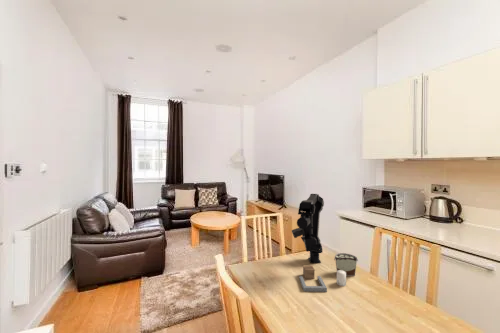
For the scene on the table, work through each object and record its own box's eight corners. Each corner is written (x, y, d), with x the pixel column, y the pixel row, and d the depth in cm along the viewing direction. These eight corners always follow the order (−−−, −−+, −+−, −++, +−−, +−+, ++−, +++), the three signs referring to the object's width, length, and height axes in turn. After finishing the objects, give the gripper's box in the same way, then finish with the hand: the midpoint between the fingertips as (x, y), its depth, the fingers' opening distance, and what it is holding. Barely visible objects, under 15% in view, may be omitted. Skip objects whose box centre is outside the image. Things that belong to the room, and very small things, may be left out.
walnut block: (303, 274, 126) (303, 265, 126) (312, 274, 126) (312, 265, 126) (304, 278, 121) (304, 269, 121) (314, 279, 121) (314, 269, 121)
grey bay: (299, 279, 120) (299, 275, 120) (320, 279, 120) (320, 276, 120) (303, 291, 109) (303, 287, 109) (326, 291, 109) (326, 288, 109)
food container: (353, 270, 130) (353, 253, 130) (357, 275, 124) (357, 257, 124) (331, 269, 131) (331, 252, 131) (334, 274, 125) (334, 256, 125)
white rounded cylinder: (335, 281, 118) (335, 270, 118) (344, 281, 118) (344, 270, 118) (338, 286, 114) (338, 274, 113) (347, 286, 113) (347, 274, 113)
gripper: (290, 219, 136) (290, 245, 137) (295, 229, 118) (295, 258, 118) (308, 219, 136) (308, 244, 137) (317, 228, 117) (317, 258, 118)
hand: (307, 251), depth 127 cm, fingers closed
